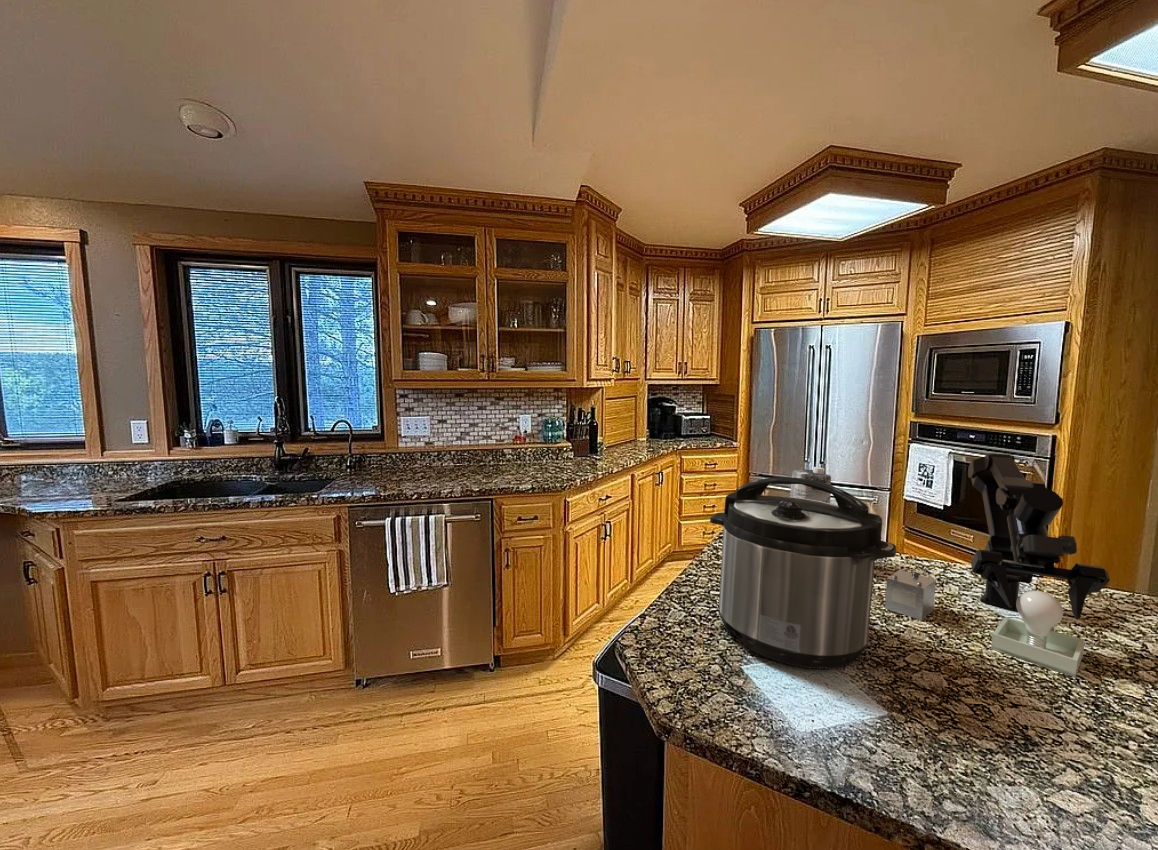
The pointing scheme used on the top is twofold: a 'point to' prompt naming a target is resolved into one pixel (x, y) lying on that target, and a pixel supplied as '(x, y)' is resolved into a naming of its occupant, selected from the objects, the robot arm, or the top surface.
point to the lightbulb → (1039, 615)
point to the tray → (1057, 655)
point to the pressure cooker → (799, 573)
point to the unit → (910, 594)
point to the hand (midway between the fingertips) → (1043, 612)
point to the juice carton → (809, 492)
